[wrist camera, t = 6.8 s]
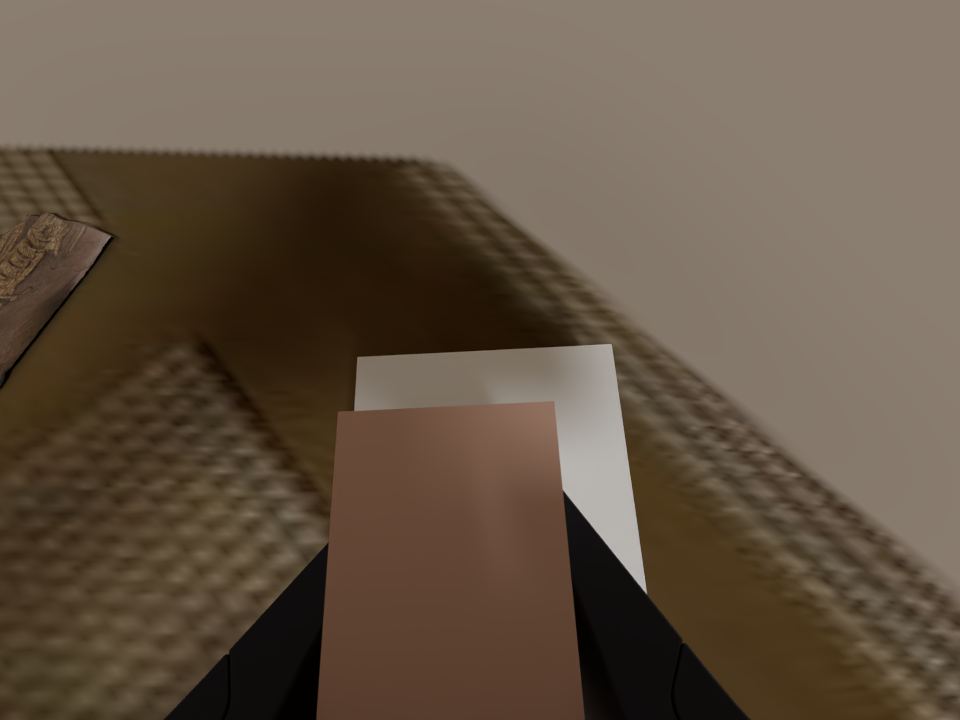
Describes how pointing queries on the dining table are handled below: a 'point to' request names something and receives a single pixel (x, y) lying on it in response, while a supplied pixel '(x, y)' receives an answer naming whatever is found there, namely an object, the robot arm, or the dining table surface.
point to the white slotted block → (521, 379)
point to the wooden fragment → (40, 276)
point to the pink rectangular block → (449, 568)
